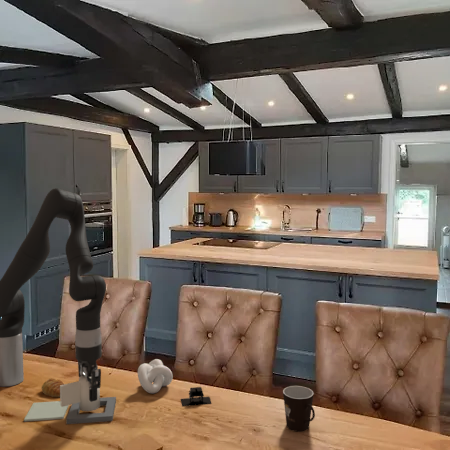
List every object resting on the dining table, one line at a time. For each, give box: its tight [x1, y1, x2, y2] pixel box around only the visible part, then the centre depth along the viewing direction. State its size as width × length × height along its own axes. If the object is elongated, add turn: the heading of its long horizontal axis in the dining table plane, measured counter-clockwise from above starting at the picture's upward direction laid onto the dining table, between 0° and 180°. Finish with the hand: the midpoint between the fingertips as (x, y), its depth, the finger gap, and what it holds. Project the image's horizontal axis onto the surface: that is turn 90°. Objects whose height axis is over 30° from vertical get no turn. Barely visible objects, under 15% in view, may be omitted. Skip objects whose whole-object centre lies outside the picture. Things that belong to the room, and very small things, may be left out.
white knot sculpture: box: [137, 358, 173, 394], centre depth 159 cm, size 11×12×9 cm
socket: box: [65, 396, 117, 425], centre depth 143 cm, size 13×13×2 cm
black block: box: [180, 386, 213, 407], centre depth 150 cm, size 12×7×5 cm, turn 100°
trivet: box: [23, 400, 70, 422], centre depth 143 cm, size 11×11×1 cm
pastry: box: [41, 378, 65, 398], centre depth 157 cm, size 9×7×4 cm
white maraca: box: [59, 376, 101, 412], centre depth 140 cm, size 12×6×9 cm, turn 125°
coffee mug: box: [282, 385, 316, 433], centre depth 132 cm, size 12×9×10 cm
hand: (89, 396), depth 142 cm, fingers closed on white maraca, 6 cm apart
